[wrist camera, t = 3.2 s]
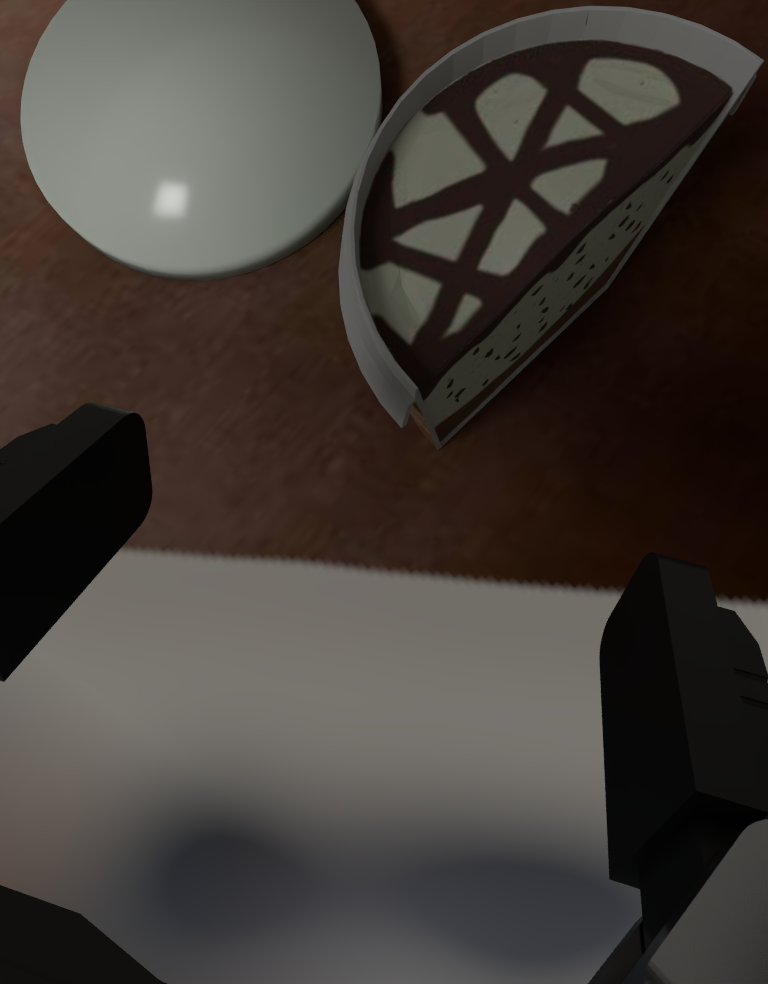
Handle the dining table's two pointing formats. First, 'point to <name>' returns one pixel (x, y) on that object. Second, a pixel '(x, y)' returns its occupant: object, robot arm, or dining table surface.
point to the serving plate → (201, 127)
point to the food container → (519, 195)
